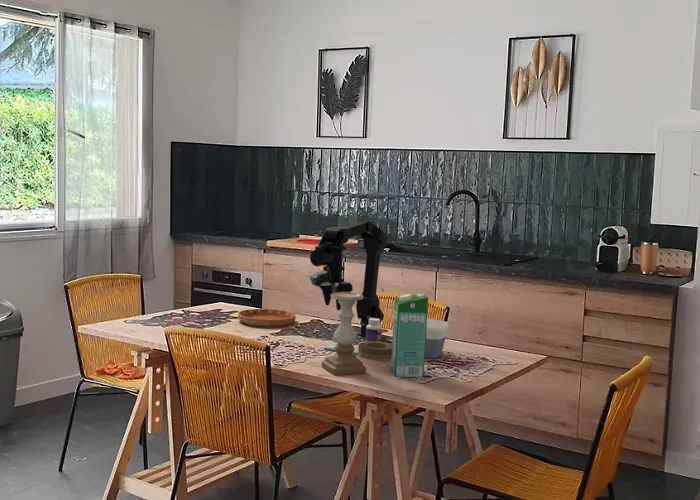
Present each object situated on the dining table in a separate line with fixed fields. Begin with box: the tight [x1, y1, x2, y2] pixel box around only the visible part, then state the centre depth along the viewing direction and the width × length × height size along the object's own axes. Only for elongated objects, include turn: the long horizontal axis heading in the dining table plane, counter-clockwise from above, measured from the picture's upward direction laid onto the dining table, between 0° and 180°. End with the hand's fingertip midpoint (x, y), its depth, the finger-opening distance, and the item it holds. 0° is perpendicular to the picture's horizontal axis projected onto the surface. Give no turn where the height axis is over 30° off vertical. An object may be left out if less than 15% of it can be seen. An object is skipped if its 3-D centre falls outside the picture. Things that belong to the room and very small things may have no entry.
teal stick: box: [323, 347, 359, 356], centre depth 276 cm, size 14×1×1 cm, turn 63°
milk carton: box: [390, 292, 429, 378], centre depth 252 cm, size 9×9×25 cm
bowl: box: [425, 318, 450, 360], centre depth 279 cm, size 15×15×11 cm
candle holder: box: [321, 291, 367, 376], centre depth 252 cm, size 11×11×24 cm
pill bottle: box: [365, 318, 382, 342], centre depth 288 cm, size 5×5×10 cm
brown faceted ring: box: [357, 341, 392, 361], centre depth 274 cm, size 12×12×4 cm
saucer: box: [237, 308, 297, 328], centre depth 321 cm, size 23×23×4 cm
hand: (332, 307), depth 284 cm, fingers open, 9 cm apart
